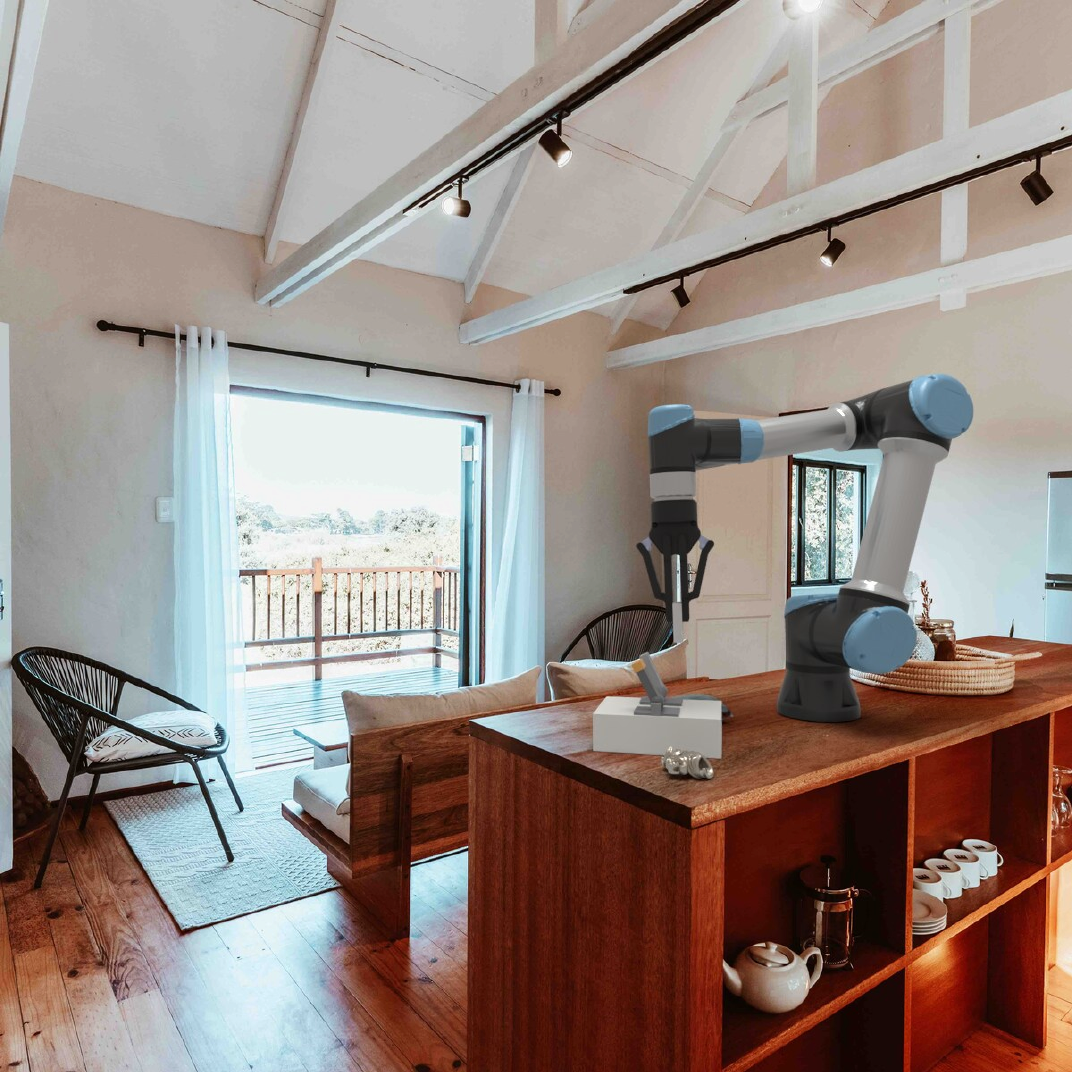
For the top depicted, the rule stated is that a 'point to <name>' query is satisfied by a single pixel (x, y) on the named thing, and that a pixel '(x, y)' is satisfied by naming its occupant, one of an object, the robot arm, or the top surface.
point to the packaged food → (725, 710)
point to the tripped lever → (647, 682)
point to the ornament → (687, 763)
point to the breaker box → (657, 723)
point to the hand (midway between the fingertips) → (678, 641)
